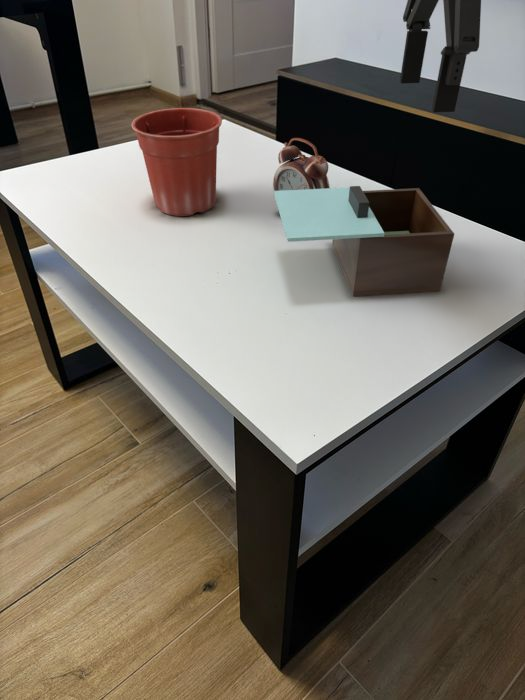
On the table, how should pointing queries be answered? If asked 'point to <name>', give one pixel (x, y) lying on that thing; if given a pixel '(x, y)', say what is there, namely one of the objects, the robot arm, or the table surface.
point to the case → (397, 247)
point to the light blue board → (326, 214)
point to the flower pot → (180, 158)
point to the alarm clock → (300, 169)
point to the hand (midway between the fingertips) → (424, 96)
